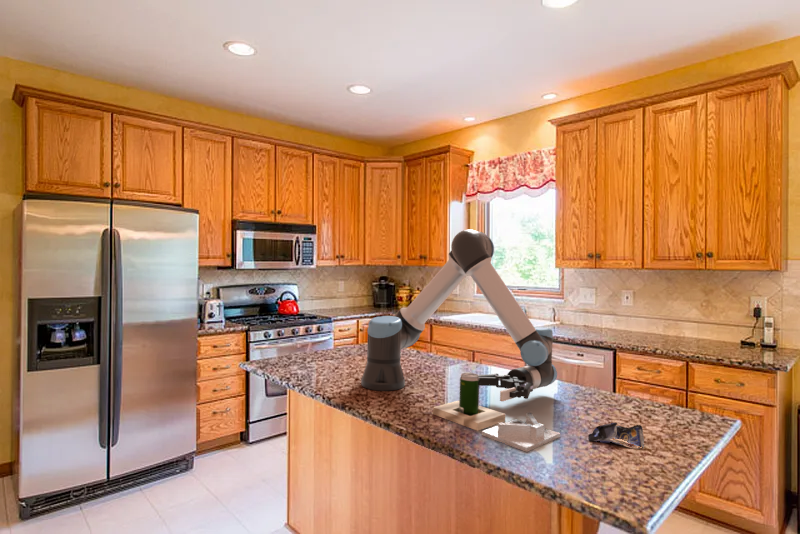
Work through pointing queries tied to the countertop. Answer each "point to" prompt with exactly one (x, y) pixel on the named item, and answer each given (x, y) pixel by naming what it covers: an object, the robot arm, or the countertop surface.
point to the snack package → (618, 434)
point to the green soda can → (469, 394)
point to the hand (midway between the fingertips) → (481, 390)
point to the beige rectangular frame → (475, 421)
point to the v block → (521, 433)
